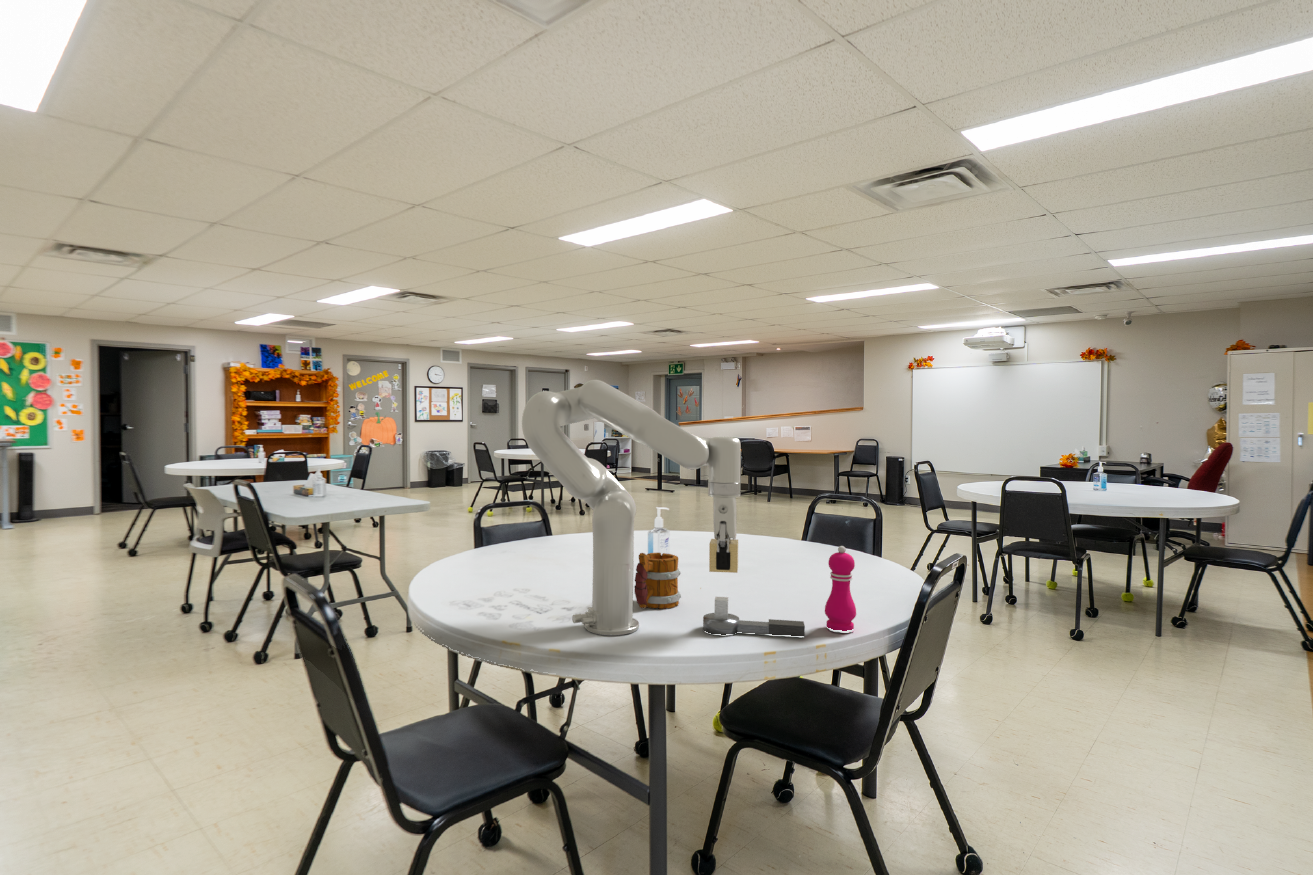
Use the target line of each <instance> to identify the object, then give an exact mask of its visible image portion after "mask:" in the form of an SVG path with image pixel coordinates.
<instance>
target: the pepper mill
mask: <svg viewBox="0 0 1313 875" xmlns="http://www.w3.org/2000/svg"><path fill="white" fill-rule="evenodd" d="M827 563H828V567H829V569H830V570H831V572H830V575H829V576H830V577H829V578H830V579H831V581H832V582H831V584H832V585H831V591H830V594H829V596H828V598H827V599H826V600H827V601H826V603H825V606H824V614H825V616H826V617H827V618H828V619H827V620H826V626H827V627H828V628H831V629H833V630H842V631H847V630H852V629H854V628H855V624H854V622H853V620H854V619H855V618H856V617H857V608H856V603H855V601H854V600H853V597H852V594H851V581H852V580H853V574H852V571H853V570H854V569H855V568H856V567H855V566H856V565H855V560H854V557H853V556H852V555H850V554H849V553H847V552H846V547H845V546H844V545H840V546H838V548H837V552H834V553H832V554H831V555H830V556H829V558H828V562H827ZM854 630H855V629H854Z"/></svg>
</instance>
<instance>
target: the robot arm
mask: <svg viewBox="0 0 1313 875" xmlns="http://www.w3.org/2000/svg"><path fill="white" fill-rule="evenodd" d="M592 419H596V420H597V421H599V422H601V423H603V424H605V425H606V426H608V427H610V428H611V429H613V430H615V431H616V432H617V431H618V432H619V433H621V434H622V435H624V436H626V437H627V438H630V439H631V440H633V441H634V442H636V443H639V444H640V445H644V446H645V447H647V448H649V449H651V450H653V451H654V452H656V453H657V454H659V455H661V456H663V457H664V458H666V459H669V460H670V461H672V462H674V463H676V464H677V465H679V466H680V467H683V468H685V469H687V470H691V471H692V470H698V469H700V468H702V467H704V466H707V467H708V469H707V470H708V472H707V477H708V480H707V490H708V491H707V493H708V494H707V496H708V497H711V498H712V508H713V509H712V512H713V513H712V516H713V517H712V518H713V519H712V522H713V535H714V538H713V539H716V540H717V552H716V569H717V570H730V552H729V541H730V540H729V539H733V540H735V539H736V538H737V498H739V497H741V481H742V480H741V477H742V476H741V468H742V467H741V464H742V462H741V457H742V456H741V455H742V452H741V448H742V447H741V441H740V439H739V438H738V437H735V436H733V437H732V436H715V437H702V436H697V435H695V434H693V433H691V432H690V431H689V430H687V429H684V428H683V427H681V426H679V425H677V424H676V423H674V422H672V421H670V420H668V419H666V418H665V417H664V416H662V415H661V414H659V413H658V412H657V411H656V410H654V409H653V408H651V407H649V406H648V405H646V404H644V403H642V402H641V401H639V400H637V399H635V398H633V397H632V396H630V395H629V394H626V393H625V392H623V391H621V390H619V389H617V388H616V387H614V386H612V385H610V384H608V383H607V382H605V381H603V380H600V379H590V380H588V381H586V382H584V384H583V385H581V386H579V387H575V388H571V389H566V390H561V391H558V392H554V391H550V390H545V391H544V390H543V391H539V392H537V393H534V394H533V395H532V396H531V397H530V398H529V399H528V401H527V402H526V404H525V406H524V410H523V413H522V418H521V429H522V434H523V437H524V439H525V442H526V443H527V445H528V447H529V448H530V450H531V451H532V453H533V454H534V455H535V456H536V457H537V458H538V459H539V461H540V462H541V463H542V464H543V465H544V467H546V469H547V470H548V471H549V472H550V473H551V474H552V476H553V477H554V478H555V479H557V481H558V482H559V483H560V484H561V486H563V488H564V489H565V490H566V491H567V492H568V494H569V495H570V496H571V497H573V498H575V499H578V500H581V501H582V500H583V501H584V502H585V503H586V504H587V506H589V507H590V509H592V510H593V512H592V523H591V524H592V603H591V604H592V605H591V607H588V608H587V611H585V612H584V613H578V614H576V613H575V614H573V615H572V616H571V620H572V621H571V622H572V623H573V624H578V623H579V624H580V623H581V624H582V625H585V630H587V631H588V632H590V633H593V634H595V635H601V636H622V635H628V634H632V633H634V632H636V631H637V630H638V629H639V627H640V623H639V621H638V620H637V619H636V618H634V617H633V616H634V615H633V612H634V610H633V609H634V607H633V606H634V605H633V604H634V599H633V598H634V566H635V564H634V550H635V549H634V548H635V547H634V544H635V542H634V541H635V537H634V535H635V534H634V532H635V530H634V529H635V517H636V513H637V505H636V501H635V499H634V497H633V496H632V495H631V494H630V492H628V490H627V489H626V488H625V487H624V486H623V485H622V484H621V483H620V482H619V481H618V479H617V478H616V477H615V476H614V475H613V474H612V473H611V472H610V471H609V470H608V469H607V467H605V466H604V465H603V463H601V462H600V461H598V460H597V459H594V458H592V457H591V458H590V457H587V456H586V455H585V454H584V453H583V452H582V451H581V450H580V448H578V446H577V445H576V444H575V442H573V441H572V440H571V438H569V436H567V435H566V434H565V432H564V431H563V429H562V428H561V427H564V426H567V425H571V424H575V423H580V422H586V421H588V420H592ZM736 540H737V539H736ZM726 542H727V543H726Z"/></svg>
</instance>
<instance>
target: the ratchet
mask: <svg viewBox="0 0 1313 875" xmlns="http://www.w3.org/2000/svg"><path fill="white" fill-rule="evenodd" d="M702 627H703V628H702V631H703V630H704V631H706V632H708V633H711V634H721V635H726V634H735V633H737V632H742V633H755V634H772V635H791V636H805V632H806V631H805V628H806V627H805V622H804V621H802V620H801V621H800V620H790V619H789V620H788V619H786V620H785V619H772V618H770V619H769V618H768V621H756V620H741V619H740V617H739V616H738V615H735V614H732V613H729V597H727V596H726V597H725V596H715V598H714V612H710V613H706V614H704V615H703V618H702ZM704 631H703V632H704ZM805 637H806V636H805Z"/></svg>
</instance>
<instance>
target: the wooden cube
mask: <svg viewBox="0 0 1313 875" xmlns="http://www.w3.org/2000/svg"><path fill="white" fill-rule="evenodd" d="M729 540H730V541H729V552H730V570H717V569H716V552H717V540H716V539H715V538H711V539H710V540H709V545H708V546H709V558H708V559H709V565H708V566H709V572H710V573H734V574H735V573H736V574H737V573H738V571H739V539H735V540H733V538H731V539H729ZM726 543H727V542H726Z"/></svg>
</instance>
